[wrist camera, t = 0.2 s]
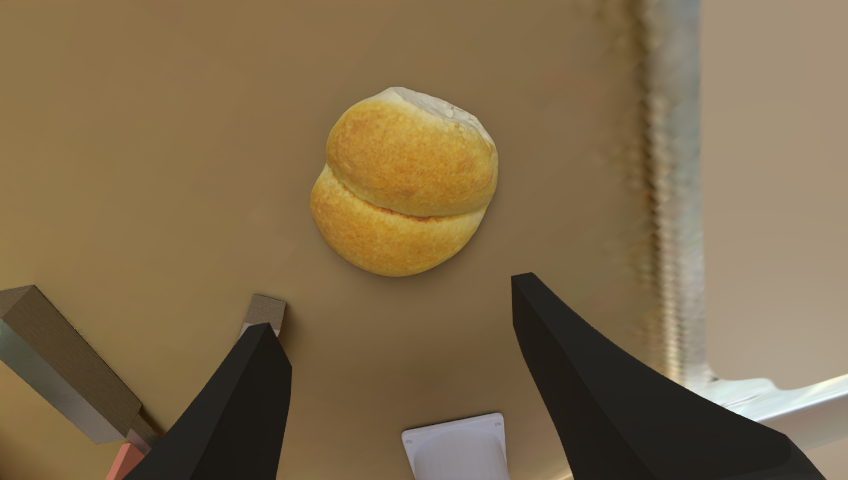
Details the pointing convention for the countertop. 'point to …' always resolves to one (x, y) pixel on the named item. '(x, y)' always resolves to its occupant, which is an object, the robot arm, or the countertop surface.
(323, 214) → the bread roll
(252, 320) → the bar
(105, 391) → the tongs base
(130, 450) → the pink bridge block
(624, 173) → the countertop surface
